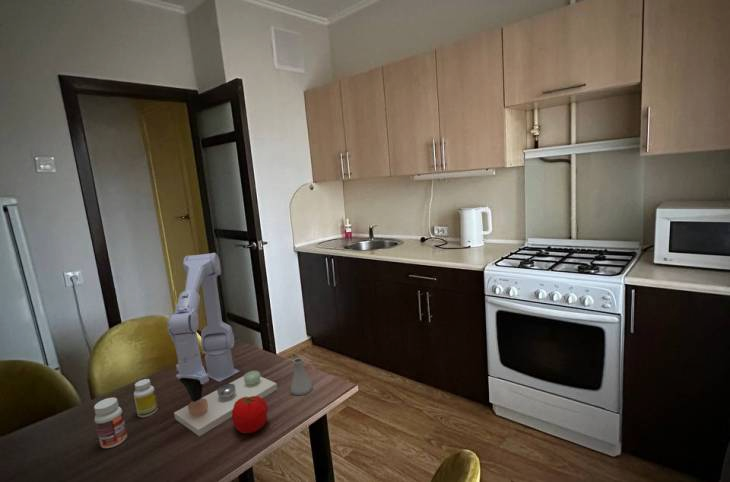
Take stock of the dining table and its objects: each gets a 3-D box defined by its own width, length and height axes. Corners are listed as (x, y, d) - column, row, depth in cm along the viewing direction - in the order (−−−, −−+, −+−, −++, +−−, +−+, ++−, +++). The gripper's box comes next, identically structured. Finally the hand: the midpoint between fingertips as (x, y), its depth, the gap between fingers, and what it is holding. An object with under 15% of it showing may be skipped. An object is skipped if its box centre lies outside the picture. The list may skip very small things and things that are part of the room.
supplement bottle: (161, 411, 114) (155, 381, 113) (141, 420, 111) (134, 389, 109) (154, 404, 118) (148, 375, 116) (135, 413, 114) (129, 383, 113)
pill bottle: (122, 446, 100) (113, 407, 98) (96, 451, 99) (87, 412, 97) (131, 431, 106) (123, 394, 104) (106, 436, 105) (98, 399, 103)
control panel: (175, 418, 110) (173, 412, 109) (251, 377, 129) (250, 372, 129) (199, 436, 101) (198, 429, 101) (277, 389, 121) (276, 383, 120)
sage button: (241, 381, 121) (240, 376, 121) (254, 374, 125) (253, 369, 125) (250, 385, 118) (249, 380, 118) (263, 378, 122) (262, 373, 121)
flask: (315, 382, 122) (312, 354, 121) (310, 395, 115) (306, 365, 114) (293, 383, 123) (290, 354, 122) (287, 396, 116) (283, 366, 114)
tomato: (251, 443, 96) (246, 413, 95) (224, 432, 102) (219, 404, 100) (277, 422, 104) (273, 394, 103) (251, 412, 109) (247, 386, 108)
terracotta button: (185, 410, 107) (184, 405, 107) (202, 401, 111) (201, 396, 111) (194, 416, 104) (193, 411, 104) (211, 407, 108) (210, 401, 108)
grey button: (215, 395, 114) (214, 389, 114) (229, 387, 118) (229, 382, 118) (224, 400, 111) (223, 394, 111) (239, 391, 115) (238, 386, 115)
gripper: (162, 354, 106) (170, 398, 109) (187, 367, 97) (195, 415, 100) (187, 344, 112) (194, 387, 114) (212, 356, 103) (220, 401, 105)
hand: (196, 399), depth 107 cm, fingers closed
